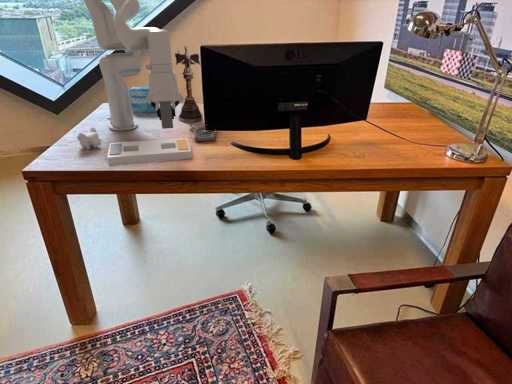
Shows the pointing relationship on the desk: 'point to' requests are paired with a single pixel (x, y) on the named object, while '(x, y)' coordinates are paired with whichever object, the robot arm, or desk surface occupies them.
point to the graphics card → (202, 133)
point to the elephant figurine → (89, 139)
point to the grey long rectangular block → (166, 115)
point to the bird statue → (188, 88)
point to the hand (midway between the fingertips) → (166, 118)
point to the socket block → (148, 151)
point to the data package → (140, 100)
